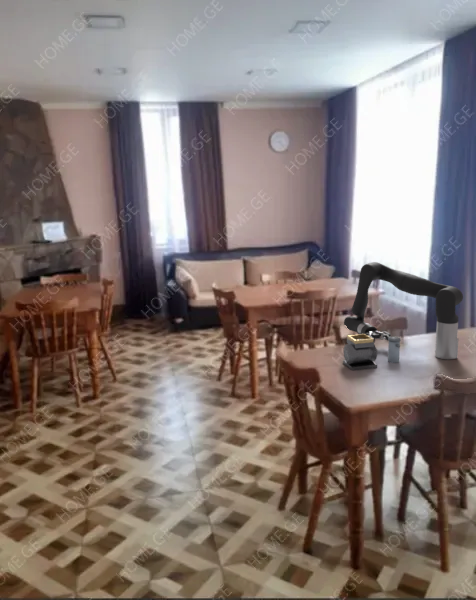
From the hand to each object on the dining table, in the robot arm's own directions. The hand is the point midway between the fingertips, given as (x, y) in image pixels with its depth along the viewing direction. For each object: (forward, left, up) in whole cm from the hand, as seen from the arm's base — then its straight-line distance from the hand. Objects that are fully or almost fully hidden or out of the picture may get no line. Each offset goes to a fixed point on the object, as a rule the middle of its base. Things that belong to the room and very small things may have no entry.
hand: (382, 340), depth 245 cm
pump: (-4, +11, -7) cm, 13 cm away
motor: (+12, +18, -7) cm, 22 cm away
